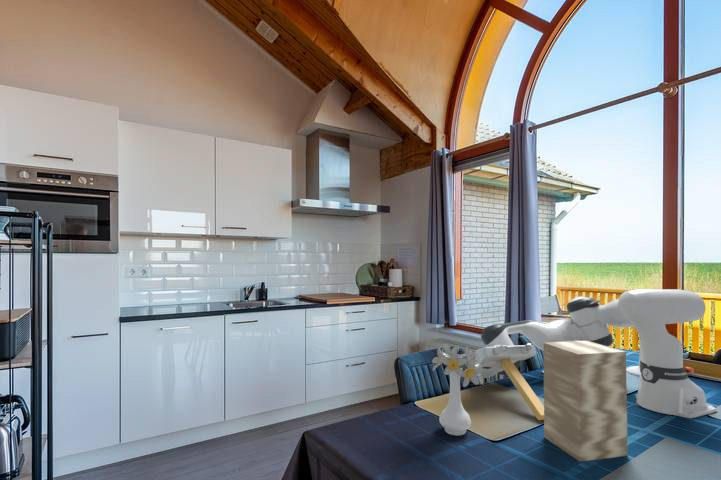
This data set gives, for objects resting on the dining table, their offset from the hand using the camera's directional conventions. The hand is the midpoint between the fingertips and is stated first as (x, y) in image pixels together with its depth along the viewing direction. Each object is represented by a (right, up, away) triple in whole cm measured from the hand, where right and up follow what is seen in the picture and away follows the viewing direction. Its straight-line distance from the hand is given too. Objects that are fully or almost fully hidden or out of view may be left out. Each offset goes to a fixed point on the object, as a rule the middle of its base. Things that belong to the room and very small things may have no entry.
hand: (517, 346), depth 133 cm
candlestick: (+68, -21, +35) cm, 79 cm away
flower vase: (-25, -19, -21) cm, 38 cm away
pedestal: (+6, -19, -29) cm, 35 cm away
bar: (0, -14, -2) cm, 14 cm away
